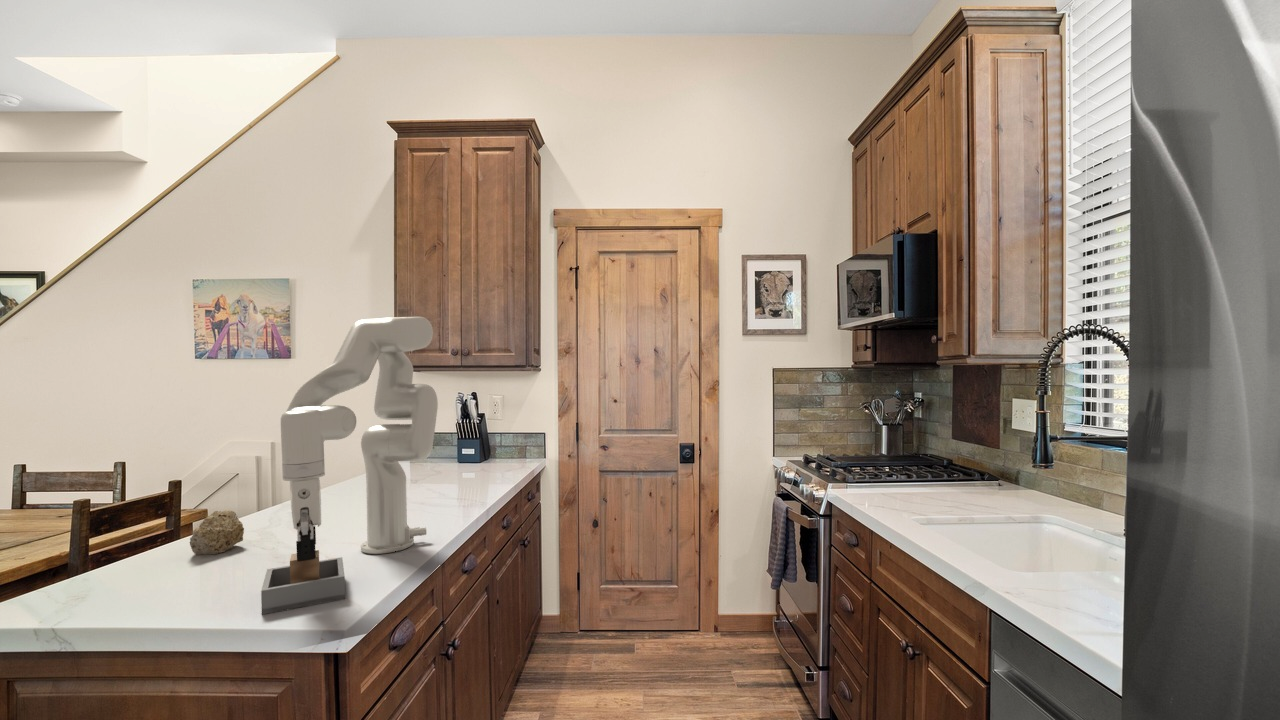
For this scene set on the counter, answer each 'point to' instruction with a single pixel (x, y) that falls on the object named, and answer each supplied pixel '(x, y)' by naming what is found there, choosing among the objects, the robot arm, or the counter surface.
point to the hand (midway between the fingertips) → (306, 552)
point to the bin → (302, 587)
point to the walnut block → (304, 569)
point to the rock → (217, 533)
